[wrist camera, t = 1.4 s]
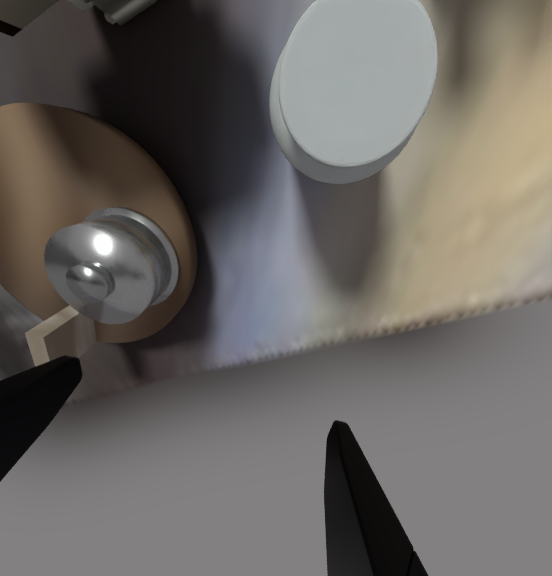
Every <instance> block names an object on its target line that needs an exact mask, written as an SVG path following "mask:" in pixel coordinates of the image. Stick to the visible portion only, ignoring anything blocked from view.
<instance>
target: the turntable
mask: <svg viewBox="0 0 552 576" xmlns="http://www.w3.org/2000/svg"><path fill="white" fill-rule="evenodd" d="M107 207H126V208H130V209H133V210H136V211H138V212H141V213H143V214H144V215H146V216H148V217H149V218H151V219H152V220H153V221H155V222H156V223H157V224H158V225H159V226H160V227H161V228H162V229H163V230H164V231H165V232H166V234H167V235H168V236H169V238H170V239H171V241H172V243H173V244H174V246H175V249H176V251H177V254H178V257H179V262H180V277H179V281H178V284H177V286H176V288H175V290H174V291H173V292H172V293H171V294H170V296H168V297H167V298H166V299H165V300H164V301H162V302H160V303H158V304H156V305H152V306H149V307H148V308H147V309H146V310H144V311H143V312H142V313H141V314H140V315H139V316H138V317H137V318H135V319H134V320H132V321H130V322H127V323H123V324H106V323H102V322H98V321H95V320H93V319H90V318H88V317H86V316H84V315H82V314H81V313H79V312H78V311H76V310H75V309H74V308H72V307H71V306H70V305H69V304H68V303H67V302H66V301H65V300H64V299H63V298H62V297H61V296H60V295H59V294H58V292H57V291H56V289H55V288H54V287H53V285H52V283H51V281H50V279H49V277H48V274H47V271H46V268H45V262H44V252H45V247H46V244H47V242H48V240H49V239H50V237H51V236H52V235H53V234H54V233H55V232H57V231H58V230H60V229H62V228H65V227H69V226H72V225H75V224H79V223H82V222H83V221H84V220H85V218H86V217H87V216H89V215H90V214H91V213H93V212H95V211H97V210H100V209H103V208H107ZM196 271H197V247H196V240H195V235H194V231H193V227H192V224H191V220H190V218H189V215H188V213H187V210H186V208H185V205H184V203H183V201H182V199H181V198H180V196H179V194H178V192H177V190H176V188H175V187H174V185H173V184H172V182H171V181H170V179H169V178H168V177H167V175H166V174H165V172H164V171H163V170H162V169H161V167H160V166H159V165H158V164H157V163H156V162H155V160H154V159H153V158H152V157H151V156H150V155H149V154H148V153H147V152H146V151H145V150H144V149H143V148H142V147H141V146H140V145H138V144H137V143H136V142H135V141H134V140H132V139H131V138H130V137H128V136H127V135H126V134H124V133H123V132H122V131H120V130H118V129H117V128H115V127H113V126H112V125H110V124H108V123H107V122H105V121H103V120H101V119H98V118H96V117H94V116H91V115H89V114H87V113H83V112H80V111H76V110H73V109H69V108H63V107H58V106H52V105H46V104H38V103H12V104H8V105H4V106H0V284H1V285H2V286H3V287H4V289H5V290H6V291H8V292H9V293H10V294H11V295H12V296H13V297H14V298H15V299H16V300H17V301H18V302H20V303H21V304H22V305H23V306H24V307H26V308H27V309H28V310H30V311H31V312H32V313H34V314H35V315H37V316H38V317H39V318H41V319H43V320H44V322H42V323H40V324H39V325H37V326H36V327H34V328H32V329H31V330H29V331H27V332H26V333H25V336H26V339H27V342H28V345H29V348H30V351H31V355H32V358H33V361H34V364H35V367H36V366H39V365H41V364H44V363H46V362H49V361H51V360H54V359H56V358H59V357H61V356H64V355H70V356H74V357H77V358H79V357H80V356H81V355H82V354H83V353H84V352H86V351H87V350H88V349H89V348H90V347H91V346H93V345H94V344H95V343H96V342H97V341H99V342H107V343H126V342H132V341H137V340H141V339H144V338H147V337H149V336H151V335H153V334H155V333H157V332H158V331H160V330H161V329H162V328H164V327H165V326H166V325H167V324H168V323H169V322H170V321H171V320H172V319H173V318H174V317H175V316H176V314H177V313H178V312H179V311H180V310H181V309H182V307H183V306H184V304H185V303H186V301H187V300H188V298H189V296H190V294H191V291H192V289H193V286H194V282H195V278H196Z"/></svg>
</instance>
